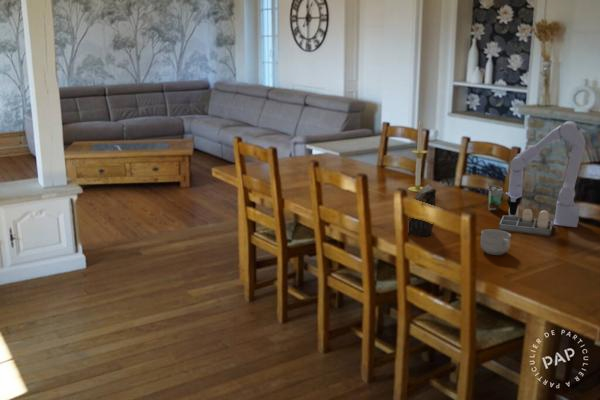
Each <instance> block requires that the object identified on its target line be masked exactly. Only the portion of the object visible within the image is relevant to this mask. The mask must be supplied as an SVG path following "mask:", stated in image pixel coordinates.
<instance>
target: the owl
mask: <svg viewBox="0 0 600 400" xmlns="http://www.w3.org/2000/svg"><path fill="white" fill-rule="evenodd" d="M422 187H423V186H422ZM436 193H437V189H436V188H435V187H433V186H432V184H431V183H428V184H426V185H425V186H424V187H423V188H422V189H421V190H420V191H419V192H416V195H415V196H414V199H416V200H419V201H422V202H425V203H428V204H431V205H434V206H435V207H436V201H435V200H436ZM414 199H413V200H414ZM408 221H409V233H408V234H409V235H411V236H415V237H419V238H421V239H422V238H423V239H427V238H430V237H432V236H433V235H432V234H433V233H432V232H433V227H434V223H433V224H430V223H428V222H425V221H422V220H418V219H414V218H411V217H409V219H408Z"/></svg>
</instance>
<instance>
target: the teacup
mask: <svg viewBox="0 0 600 400" xmlns="http://www.w3.org/2000/svg"><path fill="white" fill-rule="evenodd" d="M480 233H481V236H480V248H481V249H482V250H483V251H484V252H485V253H486V254H488V255H493V256H502V255H504V254H505V253H506V252H508V250H509V249H510V247H511V237H512V234H511V233H510V232H509V231H503V230H499V229H492V228H491V229H489V228H488V229H483V230H481V232H480Z"/></svg>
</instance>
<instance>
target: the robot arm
mask: <svg viewBox="0 0 600 400" xmlns="http://www.w3.org/2000/svg"><path fill="white" fill-rule="evenodd" d="M563 138H564V139H565V140H566V141H568V143H570V145H571V146H572V150H571V152H570V157H569V161H568V164H567V168H566V173H565V177H564V181H563V185H562V187H561V189H560V190H559V193H558V195H557V201H556V207H555V216H554V217H555V218H554V219H553V223H552V226H553V225H554V226H561V227H569V228H570V227H571V228H578V223H579V222H580V218H579V214H580V205H579V204H575V201H574V200H575V196H576V190H575V186H576V182H577V178H578V174H579V171H580V167H581V162H582V160H583V155H584V151H585V147H586V140H585V137H584V135H583V133H582V129H581V127H580V126H579V125H578V124H577V122H575V121H573V120H567V121H564V123H563V124H560V125H558V126H557V127H555V128H554V129H552V130H551V131H550V132H549V133H548V134H547V135H545V136H544V137H543V138H541V140H539V141H538V142H537V143H536V144H530V145H526V146H525V147H524V150H522V151H521V152H520V153H517V154H516V155H515V157H513V158H512V159H511V161H510V163H509V167H510V170H509V171H510V172H509V180H508V181H509V182H508V192H507V191H506V192H505V193H504V194H505V195H507V196H508V198H507V200H506V201H507V204H508V210H509V209H510V215H515V214H516V211H517V207H518V206H519V205H520V204H521V202H522V199H523V185H524V175H525V174H524V168H525V166H527V165H529V164H530V163H531V162H532V161H534V160H535V159H536V158H537V157H539V156H540V153H541V150H543V149H544V148H545V147H547V146H548V145H549V144H551V143H552V142H553V141H555V140H562V139H563Z"/></svg>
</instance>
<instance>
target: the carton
mask: <svg viewBox="0 0 600 400" xmlns="http://www.w3.org/2000/svg"><path fill="white" fill-rule="evenodd" d="M537 222H538V218H533V217H532V223H528V222H522V216H518V217H514V216H508V215H502V217H501V219H500V221H499V225H498V230H501V231H505V232H514V233H523V234H530V235H539V236H548V237H551V234H552V229H553V223H554V220H550V219H549V221H548V226H547V229H540V228H537Z"/></svg>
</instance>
